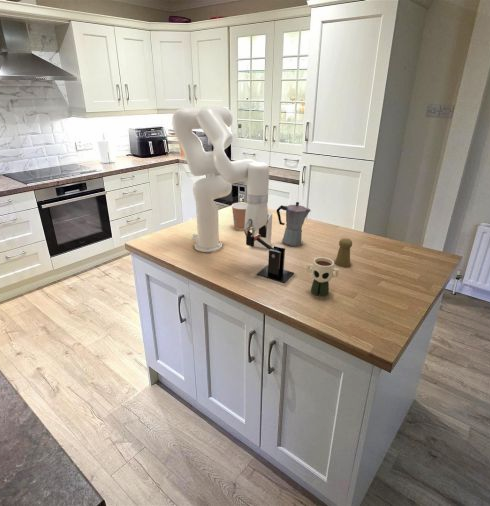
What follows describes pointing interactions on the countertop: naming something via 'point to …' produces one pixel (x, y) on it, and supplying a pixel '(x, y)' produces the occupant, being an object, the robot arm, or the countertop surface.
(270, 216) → the milk carton
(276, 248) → the switch lever
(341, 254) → the olive pepper mill
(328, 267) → the character mug
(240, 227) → the coffee cup
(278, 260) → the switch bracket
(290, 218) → the moka pot
